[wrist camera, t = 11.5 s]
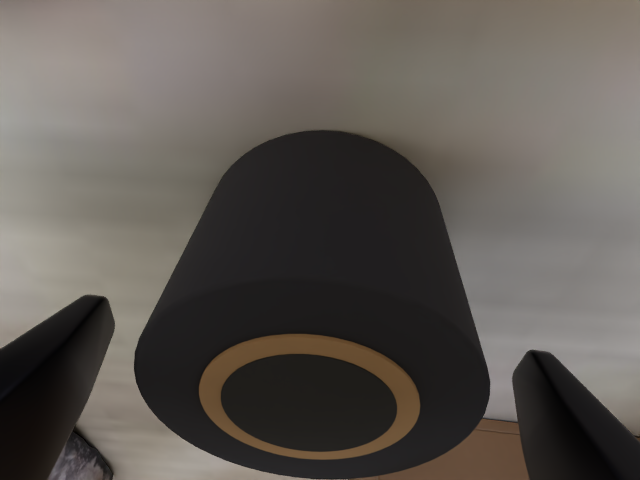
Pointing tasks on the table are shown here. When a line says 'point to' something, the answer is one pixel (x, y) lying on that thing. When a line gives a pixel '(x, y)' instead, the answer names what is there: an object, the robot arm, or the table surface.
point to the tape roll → (317, 318)
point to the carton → (474, 457)
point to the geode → (80, 462)
